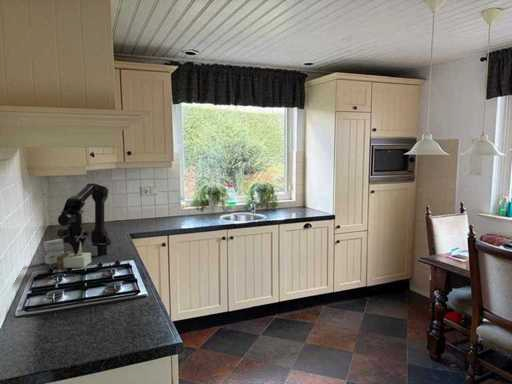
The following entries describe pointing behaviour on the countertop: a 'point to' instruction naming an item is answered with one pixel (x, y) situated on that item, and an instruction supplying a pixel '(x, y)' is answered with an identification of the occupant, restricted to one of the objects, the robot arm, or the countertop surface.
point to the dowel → (79, 251)
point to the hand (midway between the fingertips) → (77, 253)
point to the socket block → (76, 260)
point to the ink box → (53, 250)
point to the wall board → (60, 259)
